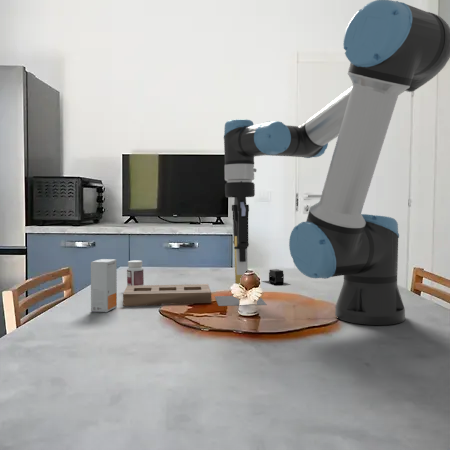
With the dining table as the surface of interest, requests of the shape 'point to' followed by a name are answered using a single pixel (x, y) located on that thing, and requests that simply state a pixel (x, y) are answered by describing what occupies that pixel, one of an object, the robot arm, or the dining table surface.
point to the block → (166, 294)
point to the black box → (276, 278)
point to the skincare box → (103, 285)
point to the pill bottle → (135, 273)
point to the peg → (237, 277)
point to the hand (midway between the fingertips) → (241, 273)
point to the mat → (233, 301)
